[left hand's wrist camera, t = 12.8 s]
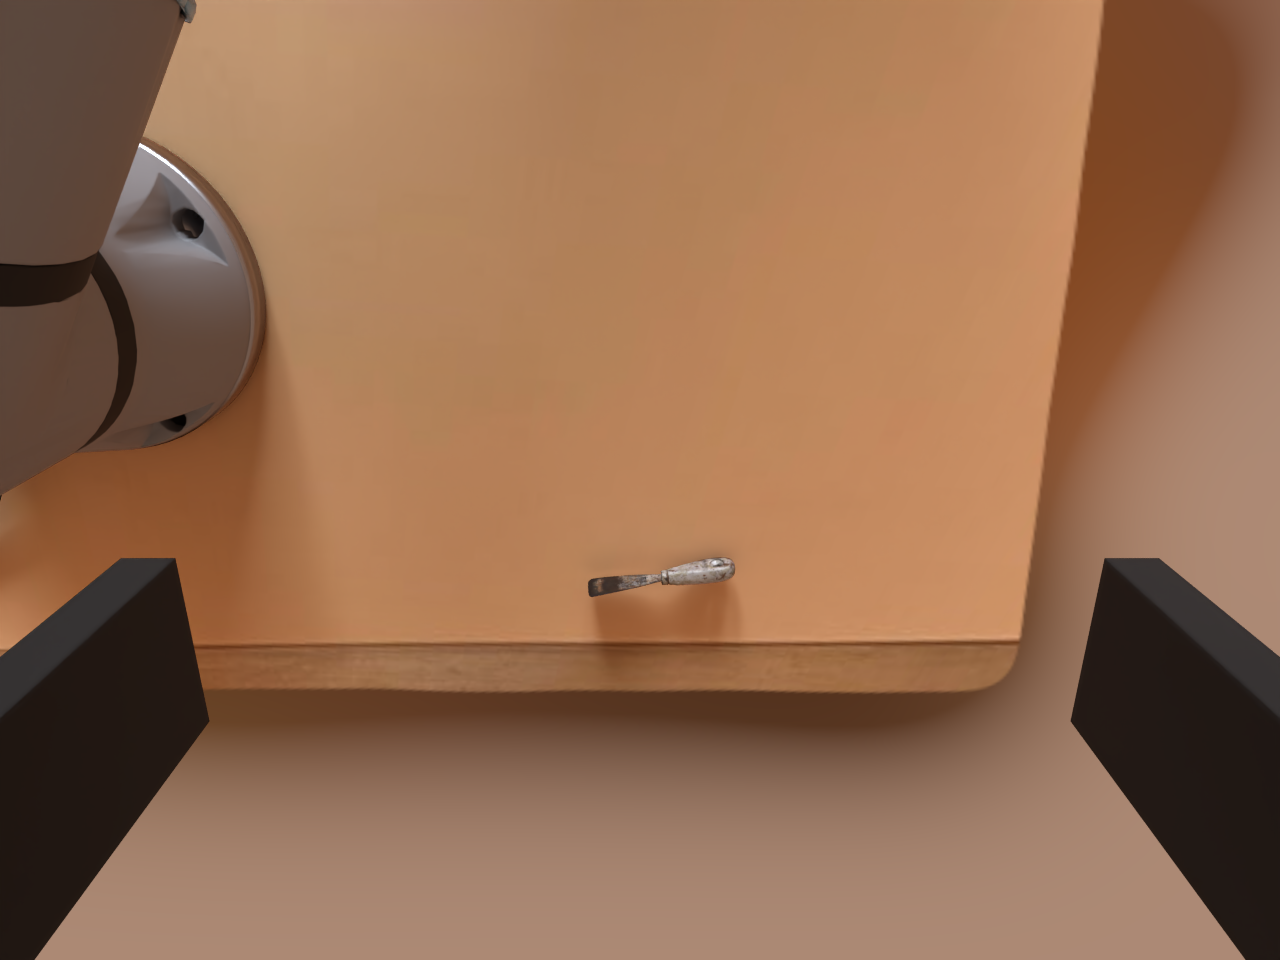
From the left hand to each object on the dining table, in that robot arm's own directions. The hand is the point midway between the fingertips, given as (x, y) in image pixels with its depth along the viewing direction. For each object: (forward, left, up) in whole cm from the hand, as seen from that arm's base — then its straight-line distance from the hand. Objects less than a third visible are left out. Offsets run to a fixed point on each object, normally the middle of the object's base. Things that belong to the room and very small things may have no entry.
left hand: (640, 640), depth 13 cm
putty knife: (-15, -5, -33) cm, 36 cm away
